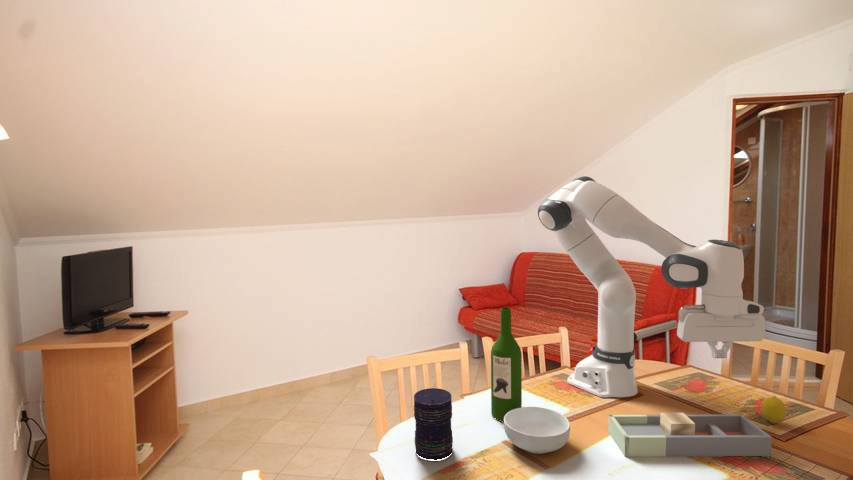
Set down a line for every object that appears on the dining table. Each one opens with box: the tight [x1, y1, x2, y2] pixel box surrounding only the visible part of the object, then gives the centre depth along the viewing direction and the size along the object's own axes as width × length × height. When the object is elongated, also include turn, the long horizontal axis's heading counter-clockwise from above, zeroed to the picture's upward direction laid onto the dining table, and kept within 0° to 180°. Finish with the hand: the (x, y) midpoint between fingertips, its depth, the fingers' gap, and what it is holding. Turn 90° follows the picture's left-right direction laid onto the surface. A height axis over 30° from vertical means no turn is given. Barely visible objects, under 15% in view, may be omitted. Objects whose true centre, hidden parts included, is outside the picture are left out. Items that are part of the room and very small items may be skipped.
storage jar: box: [413, 387, 454, 460], centre depth 122 cm, size 10×10×15 cm
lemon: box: [761, 395, 787, 425], centre depth 133 cm, size 6×6×8 cm
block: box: [659, 412, 695, 435], centre depth 124 cm, size 6×6×4 cm
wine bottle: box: [490, 307, 523, 422], centre depth 140 cm, size 9×9×32 cm
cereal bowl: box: [503, 406, 571, 455], centre depth 125 cm, size 17×17×7 cm
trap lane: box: [607, 413, 773, 458], centre depth 124 cm, size 36×12×5 cm, turn 88°
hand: (719, 357), depth 121 cm, fingers closed
